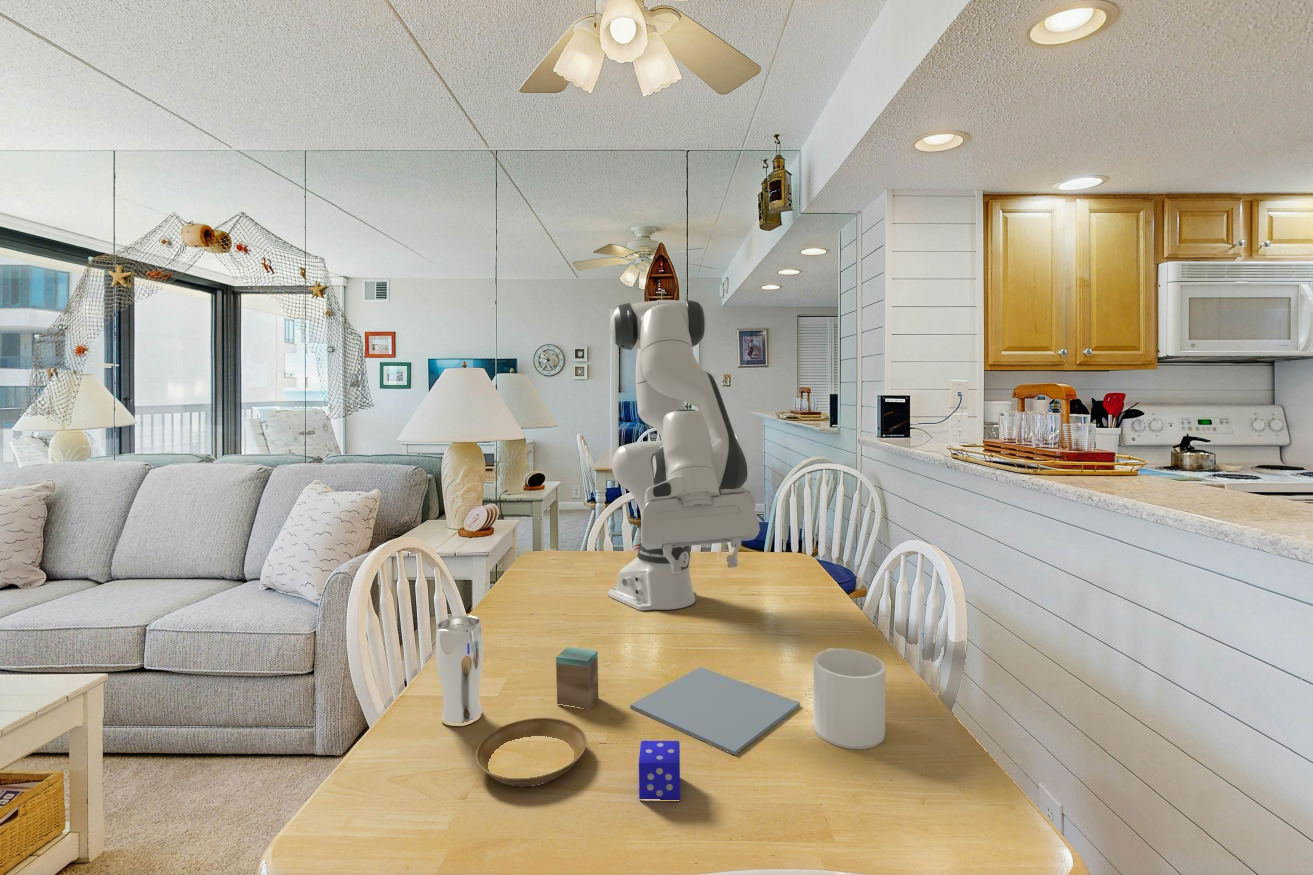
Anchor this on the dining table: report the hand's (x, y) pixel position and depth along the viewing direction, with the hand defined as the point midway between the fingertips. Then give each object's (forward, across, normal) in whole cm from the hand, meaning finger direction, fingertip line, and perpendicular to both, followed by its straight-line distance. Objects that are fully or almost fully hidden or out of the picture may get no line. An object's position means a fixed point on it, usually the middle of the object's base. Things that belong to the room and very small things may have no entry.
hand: (705, 569), depth 102 cm
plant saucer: (+26, +28, +5) cm, 38 cm away
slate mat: (+21, +1, -6) cm, 21 cm away
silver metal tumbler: (+18, +40, -6) cm, 45 cm away
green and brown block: (+18, +22, -9) cm, 30 cm away
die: (+30, +11, +12) cm, 34 cm away
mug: (+26, -17, 0) cm, 31 cm away
